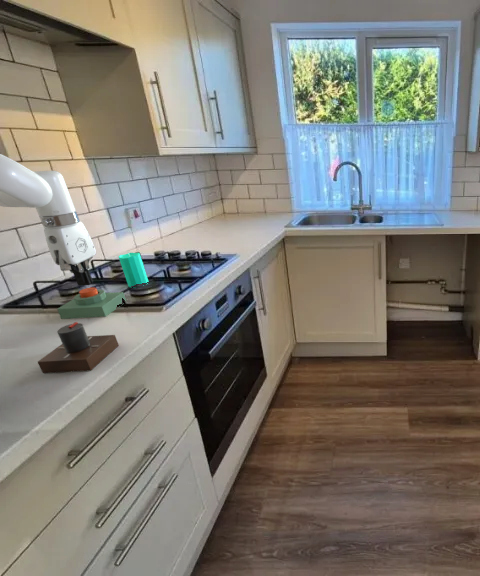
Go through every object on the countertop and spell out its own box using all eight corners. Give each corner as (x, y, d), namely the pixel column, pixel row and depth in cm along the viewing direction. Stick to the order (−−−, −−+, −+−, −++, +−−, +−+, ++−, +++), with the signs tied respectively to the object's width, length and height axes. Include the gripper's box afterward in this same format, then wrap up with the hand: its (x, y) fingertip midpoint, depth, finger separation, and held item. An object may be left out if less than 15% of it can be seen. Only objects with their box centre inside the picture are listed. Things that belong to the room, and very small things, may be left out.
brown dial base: (42, 373, 78) (36, 361, 76) (76, 347, 87) (71, 336, 85) (91, 370, 78) (85, 358, 77) (119, 345, 87) (114, 334, 86)
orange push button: (77, 298, 102) (75, 293, 101) (87, 293, 105) (85, 287, 105) (92, 298, 102) (90, 292, 101) (101, 292, 106) (99, 286, 105)
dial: (82, 352, 79) (73, 331, 77) (60, 353, 79) (51, 332, 77) (94, 341, 83) (86, 321, 81) (74, 342, 83) (65, 322, 81)
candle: (152, 282, 124) (141, 249, 119) (133, 288, 119) (121, 254, 114) (143, 279, 127) (133, 246, 122) (125, 285, 122) (113, 251, 117)
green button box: (61, 319, 101) (54, 303, 99) (85, 303, 110) (80, 288, 108) (105, 316, 101) (99, 300, 99) (126, 301, 110) (121, 286, 108)
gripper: (53, 226, 88) (81, 294, 96) (94, 213, 102) (115, 273, 109) (21, 228, 88) (51, 296, 95) (66, 214, 101) (90, 274, 109)
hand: (85, 283), depth 102 cm, fingers closed
